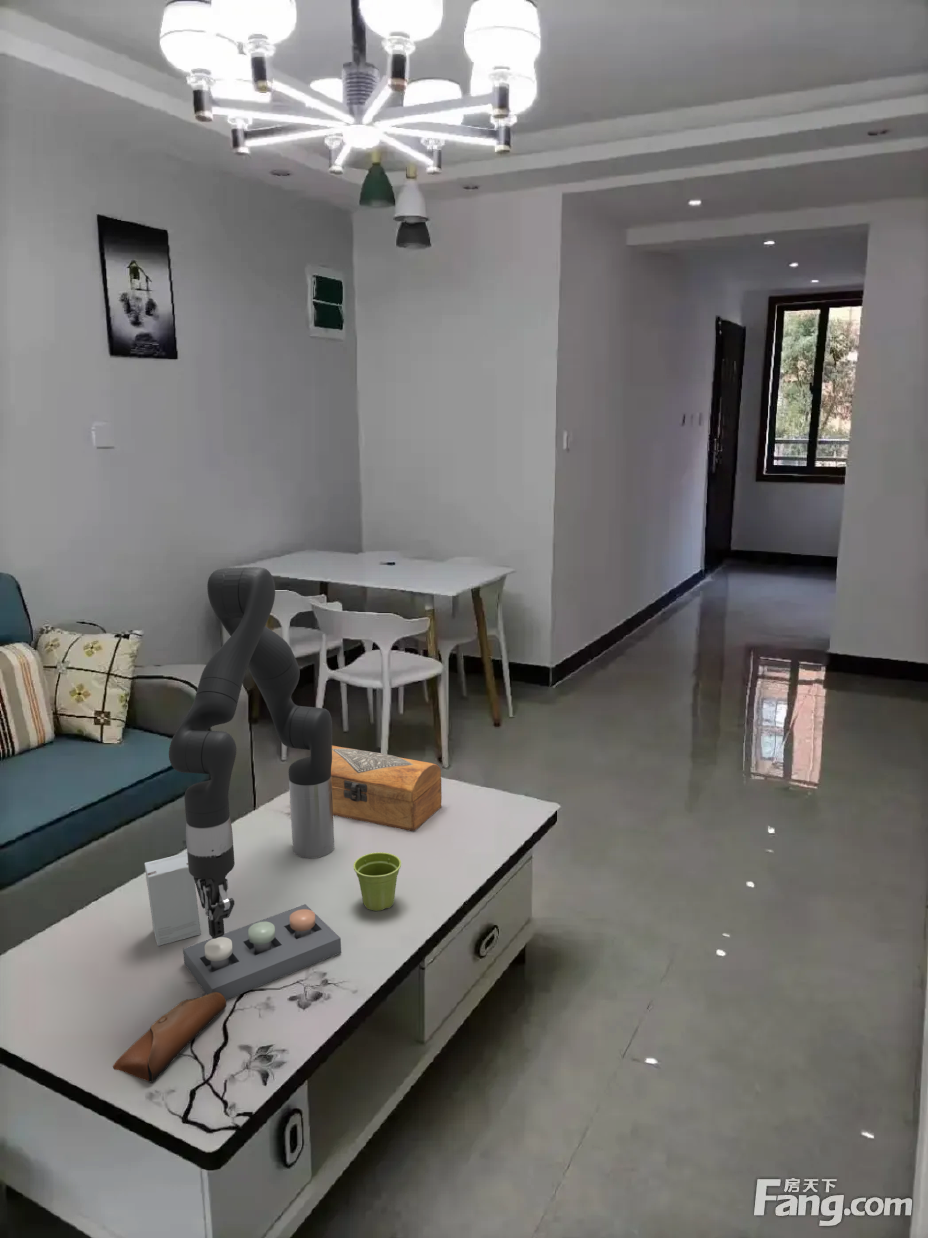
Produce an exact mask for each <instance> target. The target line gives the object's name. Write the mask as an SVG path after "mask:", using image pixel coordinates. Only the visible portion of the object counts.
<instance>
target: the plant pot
mask: <svg viewBox="0 0 928 1238" xmlns="http://www.w3.org/2000/svg"><path fill="white" fill-rule="evenodd" d="M352 867H353V870H354V872H355V873H356V876H357V878H358V883H359V887H360V888H359V889H360V894H361V898H362V902H363V905H364V906H365V907H366V909H367V910H370V911H378V912H379V911H382V910H384V909H389V908H391V907H392V906H394V902H395V897H396V890H397V889H396V888H397V879H398V875H399V871H400V869H401V867H402V861H401V859H400V858H399V857H398V856H397V855H395V854H392V853H390V852H384V851H383V852H378V851H376V852H371V853H370V852H369V853H367V854H364V855H361V856H360V857H358V858H357V859H356V860H355V861H354V862H353V866H352Z"/></svg>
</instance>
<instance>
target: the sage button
mask: <svg viewBox="0 0 928 1238" xmlns="http://www.w3.org/2000/svg"><path fill="white" fill-rule="evenodd" d="M257 922H258V921H257ZM254 923H255V922H254ZM248 934H249V941H250V942H251V943H253V944H254V953H255V954H256V955H258V954H260V953H263V952H265V951H268V950H270V949H271V941H272V940H273V939H274V938H275V926H274V925H273V924H272V923H270V922H258V923H255V924H253V925H252V926H250V928H249V929H248Z"/></svg>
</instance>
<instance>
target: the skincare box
mask: <svg viewBox="0 0 928 1238" xmlns="http://www.w3.org/2000/svg"><path fill="white" fill-rule="evenodd" d="M144 871H145V877H146V879H145V880H146V886H147V893H148V899H149V900H148V901H149V907H150V913H151V914H150V915H151V921H152V929H153V930H152V931H153V933H154V936H155V937H154V938H155V941H156V945H157V947H159V946H163V945H167V944H170V943H173V942H177V941H180V940H181V941H182V940H184V939H188V938H192V937H195V936H199V935H201V933H202V930H201V923H200V914H199V905H198V904H199V903H198V897H197V887H196V884H195V880H194V877H193V876H192V875H191V874H190V873H189V868H188V856H187V852H183V853H179V854H176V855H172V856H168V857H164V858H159V859H156V860H152V861H151V860H150V861H145V862H144Z"/></svg>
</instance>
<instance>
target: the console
mask: <svg viewBox="0 0 928 1238" xmlns="http://www.w3.org/2000/svg"><path fill="white" fill-rule="evenodd" d="M302 909H307V910H311V911H313V910H312V909H311V908H310V907H309V906H308V905H307V904H306V903H304V904H301V905H299V906H295V907H294V908H291V909H288V910H285V911H282V912H280V913H276V914H274V915H272V916H269V917H266V918H264V919H261V920H258V921H255V922H253V923H249V924H247V925H244V926H241V927H239V928H236V929H232V930H231V931H228V932H224V935H223V936H221V937H225V938H229V939H230V940H231V941H232V949H233V952H232V954H231V955H230V956H229V957H228V960H229V966H227V967H224V968H222V969H219V970H216V971H214V972H213V971H212V970H211V961H210V960H208V959H207V958H206V957H205V944H206V943H207V942H208V941H210V940H212V939H213V938H212V937H211V938H207V939H206V940H203V941H200V942H197V943H195V944H192V945H189V946H186V947H183V948H182V951H183V952H182V954H183V964H184V966H185V967H186V968H187V970H188V971H189V972H190V975H192V977H193V978H194V979H195V981H196V983H197V984H198V985H199V987H200V988H201V989H202V991H203V992H204V994H205V995H208V994H210V993H213V992H219V993H221V994H222V995H223V996H224V998H225V1000H226V1001H227V1000H229V999H232V998H234V997H236V996H239V995H241V994H244V993H246V992H248V991H251V990H254V989H256V988H259V987H260V986H263V985H265V984H268V983H270V982H272V981H275V980H277V979H280V978H283V977H285V976H288V975H290V974H292V973H294V972H297V971H299V970H302V969H305V968H307V967H309V966H311V965H314V964H316V963H319V962H322V961H323V960H326V959H328V958H331V957H334V956H336V955H339V954H341V953H342V944H341V943H342V942H341V939H342V938H341V937H340V936H339V935H338V933H336V932H335V931H334V930H333V929H332V928H331V927H330V926H329V925H328V924H327V923H326V922H325V921H324V920H323V919H322V918H320V917H319V916H318V915H317V914H316V913H315V925H314V927H313V928H311V933H312V934H309V935H306V936H304V937H301V938H299V939H296V938H295V930H293V929H292V928H291V927H290V915H291V914H292V913H293V912H295V911H297V910H302ZM258 922H270V923H272V924H273V925H274V926H275V938H274V939H273V940H272V941H271V949H270V950H268V951H265V952H263V953H260V954H258V955H256V954H255V953H254V944H253V943H251V942H250V941H249V934H248V929H249V928H250V926H252V925H253V924H255V923H258Z"/></svg>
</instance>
